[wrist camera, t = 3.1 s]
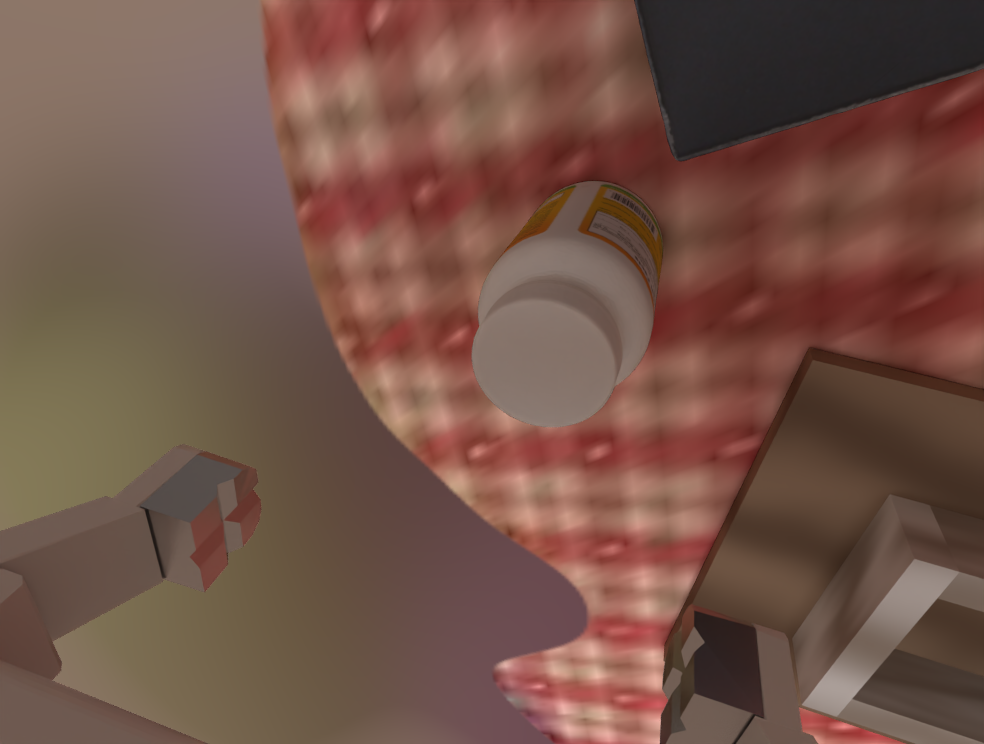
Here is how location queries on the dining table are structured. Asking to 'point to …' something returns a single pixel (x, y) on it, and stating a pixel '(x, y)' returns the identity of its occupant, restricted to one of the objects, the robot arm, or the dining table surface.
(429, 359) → the dining table surface
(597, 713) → the dining table surface
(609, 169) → the dining table surface
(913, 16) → the small box
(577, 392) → the supplement bottle
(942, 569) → the socket plate
